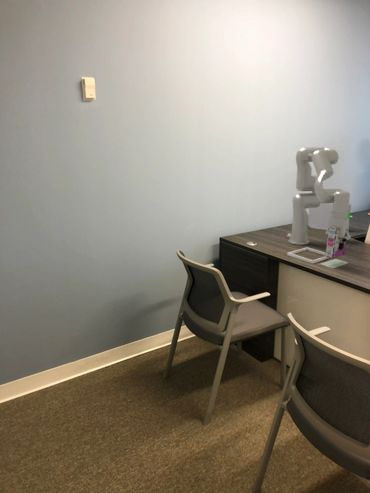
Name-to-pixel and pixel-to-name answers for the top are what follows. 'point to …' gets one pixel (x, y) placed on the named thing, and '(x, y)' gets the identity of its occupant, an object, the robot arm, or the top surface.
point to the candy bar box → (334, 243)
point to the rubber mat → (334, 263)
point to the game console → (321, 216)
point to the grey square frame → (306, 258)
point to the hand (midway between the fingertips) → (336, 247)
